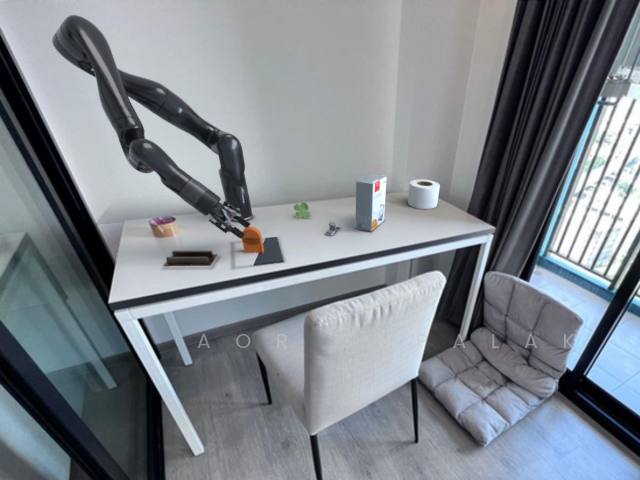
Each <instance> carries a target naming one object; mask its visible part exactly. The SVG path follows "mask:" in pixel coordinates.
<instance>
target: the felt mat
mask: <svg viewBox="0 0 640 480" xmlns="http://www.w3.org/2000/svg"><path fill="white" fill-rule="evenodd" d="M263 246H264V252H263V253H257V256H256V258H255V260H254V262H253V265H252V266H253V267H255V266H261V265H270V264H279V263H284V262H285V261H284V257H283V254H282V250H281V246H280V243H279V239H278V236H271V237H265V238H264V240H263Z"/></svg>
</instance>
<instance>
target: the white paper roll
mask: <svg viewBox="0 0 640 480" xmlns="http://www.w3.org/2000/svg"><path fill="white" fill-rule="evenodd" d="M440 188H441V185H440V183H438V182H437V181H434V180H430V179H413V180H411V181H410V182H409V187H408V197H407V198H408V199H407V205H409V206H410V207H412V208H414V209H420V210H432V209H435V208H437V206H438V202H439V194H440Z"/></svg>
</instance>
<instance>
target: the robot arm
mask: <svg viewBox="0 0 640 480" xmlns="http://www.w3.org/2000/svg"><path fill="white" fill-rule="evenodd" d="M51 43H52V45H53V47H54V49H55V50H56V51H57V53H58V54H59V55H60V56H61V57H63V58H64V59H65V60H66V61H67V62H69V63H70V64H72V65H73V66H75V67H76V68H77V69H79V70H81V71H83V72H85V73H86V74H88V75H90V76H92V77H93V78H95V80H96V86H97V91H98V97H99V101H100V104H101V105H100V106H101V108H102V110H103V113H104V114H105V116H106V117H107V119H108V121H109V124H110V125H111V127H112V129H113V130H114V132H115V133H116V136H117V139H118V141H119V144H120V148H121V149H122V153H123V154H124V157H125V159H126V161H127V162H128V164H129V165H130V166H131V167H132V168H133V169H134V170H136V171H137V172H140V173H141V174H142V173H143V174H151V173H154V172H155V173H156V174H157V175H158V176H159V179H160V183H162V185H163V186H165V187H166V188H167V189H168V190H170V191H171V192H172V193H174V194H175V195H177V196H178V197H180V198H181V200H183V201H184V202H185V203H187V205H189V206H191V207H193V208H194V209H195V210H196V211H198V212H199V213H200V214H202V215H204V216H205V217H207V216H209V215H210V216H211V217H209V219H208V222H209V223H211V224H212V225H214V226H215V227H216V228H218V229H219V230H220V231H221V232H222V233H224V234H227V233H232V234H233V236H236V237H237V238H238V239H241V240H242V237H243V236H244V235H245V234H244V233H243V230H240V228H238V227H236V226H235V225H234V224H233V222H237V223H238V224H239V225H241V226H243V228H244V229H245V228H247V227H251V222H249V221H250V220H251V219H253V218H254V214H253V210H252V205H251V200H250V194H249V190H248V189H249V188H248V184H247V179H246V174H245V173H246V172H245V170H246V164H245V163H246V162H245V157H244V152H243V146H242V144H241V141H240V139H239V138H238V137H236V135H234V134H232V133H230V132H227V131H225V130H222V129H220V128H218V127H216V126H215V125H213V124H212V123H210V122H209V121H207V120H205V119H204V118H203V117H201V116H200V115H199V114H198V112H196V111H195V110H194V109H193V108H192V107H191V106H190V105H189V104H188V103H187V102H186V101H185V100H183V98H181V97H180V96H179V95H178V94H176V93H175V92H174V91H172V90H171V89H169V88H168V87H167V86H165V85H164V84H162V83H161V82H158V81H155V80H153V79H150V78H147V77H143V76H139V75H135V74H132V73H129V72H126V71H124V70H121V69H119V68H118V66H117V63H116V61H115V60H116V59H115V58H114V54H113V52H112V49H111V46H110V44H109V42H108V40H107V38H106V36H105V35H104V34H103V32H102V31H101V30H100V29H99V27H97V25H95V24H94V23H93V22H92V21H90V20H88V19H86V18H85V17H83V16H81V15H77V14H70V15H68V16H67V17H65V18H64V19H63V21H62V22H61V24H60V25H59V27H58V28H57V29H56V31H55V32H54V34H53V35H52V37H51ZM131 100H133V101H135V102H136V103H138V104H139V105H141V106H142V107H143V108H145V109H147V110H148V111H149V112H151V113H153V115H155V116H157V117H159V118H160V119H162V120H163V121H165V122H166V123H168V124H170V125H171V126H174V127H175V128H176V129H179V130H181V131H183V132H185V133H187V134H188V135H190V136H192V137H193V138H194V139H196V140H197V141H199V142H200V143H201V144H203V145H204V146H205V147H206V148H208V149H209V150H210V151H211V152H213V153H214V154H215V155H217V156H218V160H219V165H220V167H219V168H218V175H219V179H220V184H221V188H222V192H223V196H224V201H223V202H221V200H222V198H221V197H220V196H219V195H217V194H216V193H215V192H214V191H212V190H211V189H210V188H208V187H207V186H206V185H204V184H203V182H200V181H198V180H197V179H195V177H193V176H192V175H190V173H189V174H188V173H187V172H186V171H185V170H183V169H182V168H181V167H179V166H178V164H177V163H176V161H174V160H173V159H172V158H171V157H170V155H169V154H168V153H167V152H166V151H165V150H164V149H163V148H162V147H161V146H159V145H158V144H157V143H155V142H154V141H152V140H150V139H147V138H146V137H145V136H146V135H145V133H146V132H145V127H144V125H143V123H142V121H141V118H140V117H139V115H138V113H137V111H136V109H135V107H134V106H133V103H132V102H131ZM232 221H233V222H232Z"/></svg>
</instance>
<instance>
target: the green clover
mask: <svg viewBox="0 0 640 480" xmlns="http://www.w3.org/2000/svg"><path fill="white" fill-rule="evenodd" d="M309 208H310V207H309V205H308V203H306V202H301V203H300V204H298V203H296V204H294V205H293V210H294V211H296V212H295V214H294V215H295V217H296V218H297V219H302V218H303V219H309V218H310V217H311V216H312V214H311V212H310V211H309Z"/></svg>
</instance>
